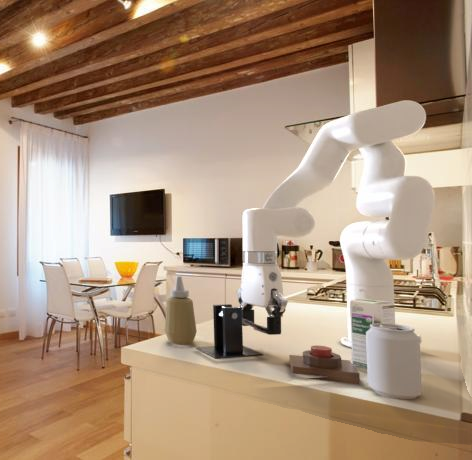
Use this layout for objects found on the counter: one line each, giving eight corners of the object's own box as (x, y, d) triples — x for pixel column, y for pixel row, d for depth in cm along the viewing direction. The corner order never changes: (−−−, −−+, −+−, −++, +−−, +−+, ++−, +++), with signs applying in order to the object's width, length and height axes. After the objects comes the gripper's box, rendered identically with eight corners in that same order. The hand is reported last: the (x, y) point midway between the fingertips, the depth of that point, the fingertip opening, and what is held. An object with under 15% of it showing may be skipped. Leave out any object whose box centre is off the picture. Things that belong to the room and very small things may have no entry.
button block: (350, 370, 86) (349, 351, 86) (360, 385, 78) (359, 363, 78) (289, 364, 91) (288, 346, 91) (292, 377, 83) (292, 357, 83)
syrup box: (350, 368, 88) (348, 299, 88) (367, 364, 90) (365, 297, 90) (380, 376, 82) (378, 303, 83) (398, 372, 85) (395, 301, 85)
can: (433, 402, 69) (430, 330, 69) (382, 400, 71) (379, 329, 71) (404, 386, 76) (402, 321, 77) (359, 384, 78) (357, 321, 78)
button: (330, 354, 85) (330, 346, 85) (333, 359, 82) (333, 350, 82) (310, 353, 87) (309, 344, 87) (312, 357, 84) (311, 348, 84)
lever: (256, 332, 102) (260, 323, 103) (270, 337, 98) (273, 328, 98) (214, 314, 101) (218, 305, 101) (226, 318, 96) (230, 308, 96)
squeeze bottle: (159, 345, 109) (158, 277, 109) (172, 339, 115) (171, 274, 115) (189, 350, 104) (187, 278, 104) (201, 343, 110) (199, 276, 110)
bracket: (240, 349, 104) (238, 302, 104) (263, 359, 95) (262, 308, 95) (195, 352, 102) (194, 304, 102) (215, 362, 93) (214, 310, 93)
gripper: (299, 260, 92) (300, 337, 92) (251, 257, 109) (252, 322, 109) (269, 261, 91) (270, 338, 91) (225, 257, 108) (225, 323, 108)
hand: (260, 329), depth 100 cm, fingers open, 9 cm apart
